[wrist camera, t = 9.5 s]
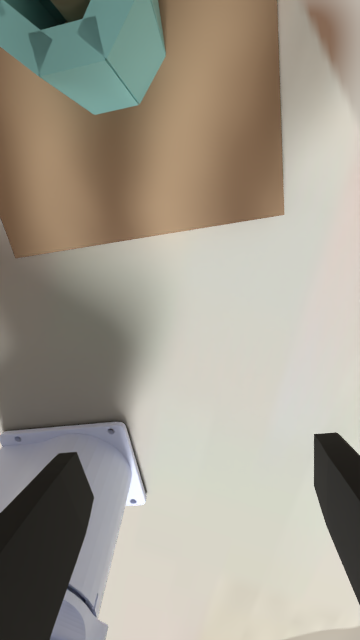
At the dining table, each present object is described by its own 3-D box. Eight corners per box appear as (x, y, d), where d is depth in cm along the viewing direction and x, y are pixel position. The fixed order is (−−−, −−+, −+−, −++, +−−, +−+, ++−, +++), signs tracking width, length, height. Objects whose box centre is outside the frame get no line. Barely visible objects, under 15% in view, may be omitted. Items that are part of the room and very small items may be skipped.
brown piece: (25, 254, 17) (-70, 289, 11) (-127, -176, 11) (-506, -595, 5) (279, 213, 16) (328, 228, 10) (258, -321, 10) (355, -1202, 4)
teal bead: (63, 121, 14) (-7, 87, 9) (23, -27, 12) (-89, -163, 7) (172, 97, 13) (156, 47, 9) (148, -64, 11) (111, -238, 7)
